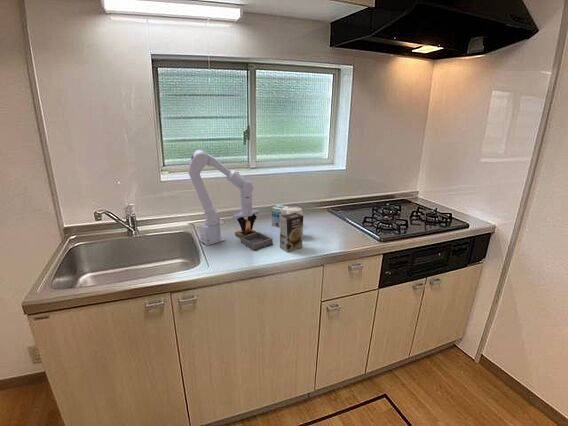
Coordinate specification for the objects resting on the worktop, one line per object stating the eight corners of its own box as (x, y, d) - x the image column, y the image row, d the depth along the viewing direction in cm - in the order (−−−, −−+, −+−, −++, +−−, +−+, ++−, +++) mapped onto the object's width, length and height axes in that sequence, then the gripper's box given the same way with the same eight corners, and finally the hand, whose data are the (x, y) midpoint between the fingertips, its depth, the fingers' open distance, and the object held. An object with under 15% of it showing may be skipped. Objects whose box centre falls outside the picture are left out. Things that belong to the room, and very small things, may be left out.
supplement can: (292, 232, 167) (293, 205, 163) (305, 236, 162) (306, 208, 158) (282, 237, 161) (283, 209, 157) (295, 241, 156) (296, 212, 152)
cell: (246, 238, 160) (245, 221, 157) (241, 235, 162) (241, 218, 160) (252, 236, 162) (252, 219, 159) (248, 233, 165) (247, 217, 162)
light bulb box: (271, 225, 177) (271, 207, 173) (277, 222, 182) (277, 204, 179) (288, 229, 172) (288, 210, 169) (293, 225, 178) (294, 207, 174)
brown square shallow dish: (244, 240, 156) (244, 236, 156) (235, 235, 163) (235, 231, 162) (259, 236, 162) (259, 232, 161) (249, 231, 168) (249, 227, 167)
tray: (253, 250, 146) (253, 244, 145) (240, 243, 154) (240, 237, 153) (272, 244, 153) (272, 238, 152) (259, 237, 160) (258, 232, 160)
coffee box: (287, 252, 144) (288, 219, 139) (279, 247, 149) (279, 215, 144) (302, 247, 149) (304, 215, 144) (294, 243, 154) (295, 211, 149)
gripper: (238, 209, 149) (239, 235, 154) (262, 203, 158) (263, 228, 163) (230, 205, 155) (231, 231, 159) (254, 200, 164) (255, 225, 168)
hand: (246, 229), depth 161 cm, fingers closed on cell, 4 cm apart
